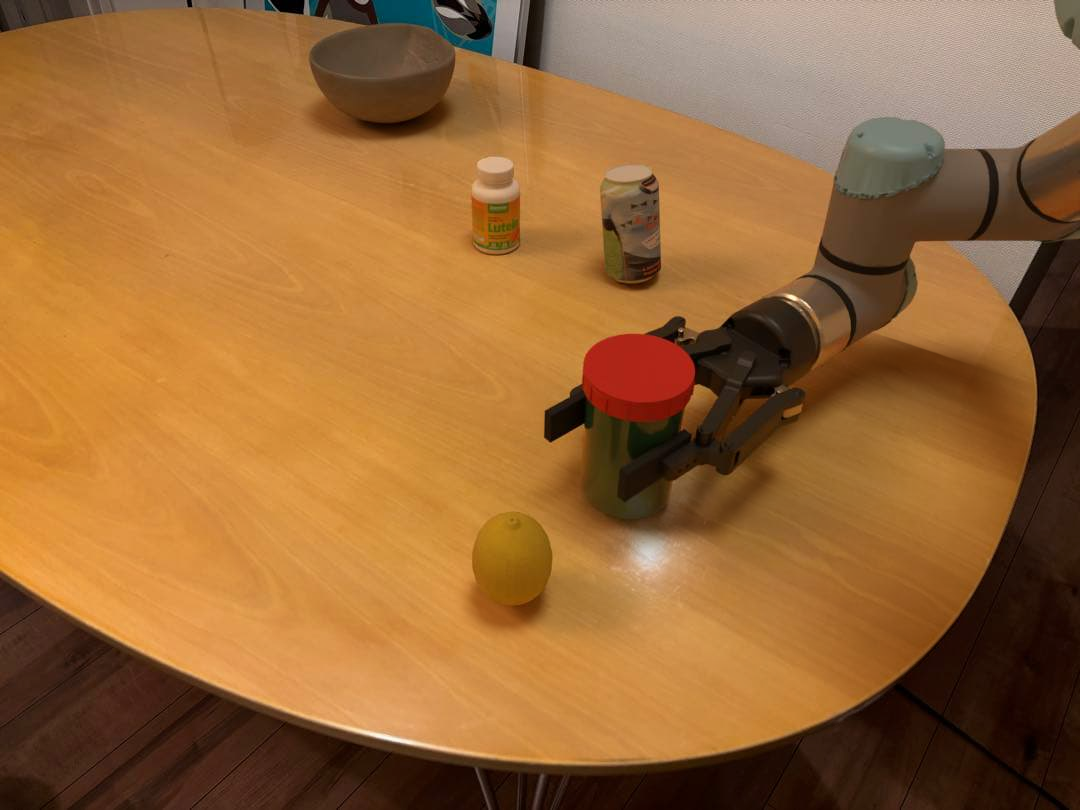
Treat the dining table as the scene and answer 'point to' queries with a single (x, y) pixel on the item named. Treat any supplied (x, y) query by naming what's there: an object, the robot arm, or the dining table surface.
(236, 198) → the dining table surface
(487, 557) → the lemon
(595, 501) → the jar
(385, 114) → the bowl
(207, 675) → the dining table surface
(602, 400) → the cap
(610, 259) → the beverage can
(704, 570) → the dining table surface
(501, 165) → the supplement bottle
